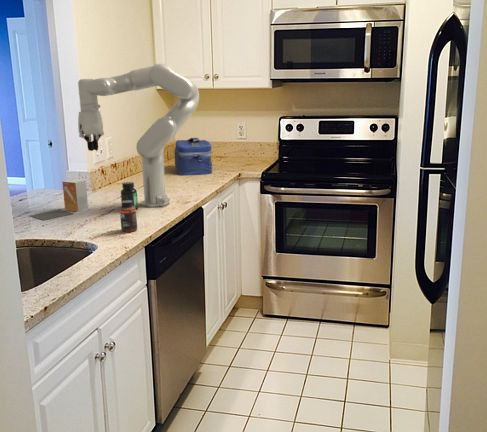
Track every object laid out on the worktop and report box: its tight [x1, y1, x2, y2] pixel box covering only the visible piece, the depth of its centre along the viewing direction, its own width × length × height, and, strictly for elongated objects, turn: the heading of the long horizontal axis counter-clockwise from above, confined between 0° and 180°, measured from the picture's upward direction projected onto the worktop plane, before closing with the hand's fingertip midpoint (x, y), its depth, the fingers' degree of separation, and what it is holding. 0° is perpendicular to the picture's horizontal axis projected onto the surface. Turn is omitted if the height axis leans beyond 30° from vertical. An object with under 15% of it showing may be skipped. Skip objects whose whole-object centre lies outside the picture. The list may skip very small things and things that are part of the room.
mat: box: [28, 208, 75, 221], centre depth 238 cm, size 12×14×1 cm
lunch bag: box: [174, 137, 213, 177], centre depth 333 cm, size 31×21×20 cm
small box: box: [61, 178, 89, 213], centre depth 245 cm, size 8×6×13 cm
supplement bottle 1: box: [120, 181, 139, 211], centre depth 242 cm, size 7×7×12 cm
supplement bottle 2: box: [119, 200, 138, 233], centre depth 210 cm, size 6×6×11 cm
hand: (93, 149), depth 248 cm, fingers closed
